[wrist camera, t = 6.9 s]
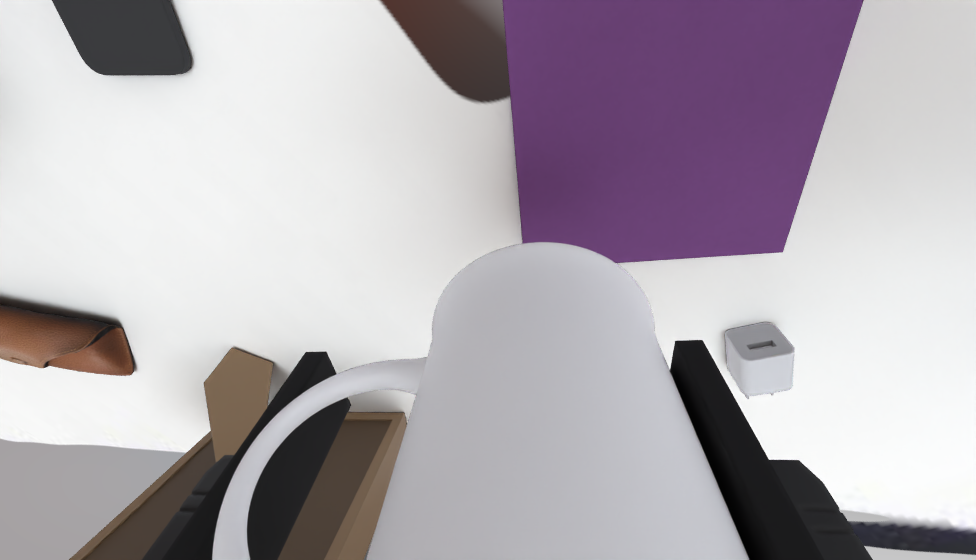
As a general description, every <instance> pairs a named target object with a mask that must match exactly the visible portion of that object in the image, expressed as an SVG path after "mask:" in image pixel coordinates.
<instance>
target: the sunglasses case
mask: <svg viewBox="0 0 976 560" xmlns="http://www.w3.org/2000/svg"><path fill="white" fill-rule="evenodd" d="M0 358H1V359H4V360H7V361H10V362H14V363H18V364H24V365H30V366H35V367H38V368H46V367H47V366H53V367H58V368H64V369H69V370H76V371H82V372H88V373H96V374H106V375H119V376H120V375H121V376H123V375H124V376H126V375H132V373H133V372H134V365H133V358H132V354H131V350H130V347H129V344H128V341H127V338H126V336H125V333H124V331H123V328H122V327H120V326H118V325H107V324H106V323H103V322H99V321H91V320H86V319H78V318H72V317H62V316H58V315H53V314H44V313H36V312H34V311H29V310H24V309H20V308H15V307H10V306H4V305H0Z"/></svg>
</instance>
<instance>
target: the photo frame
mask: <svg viewBox="0 0 976 560" xmlns="http://www.w3.org/2000/svg"><path fill="white" fill-rule="evenodd" d="M272 368H273V363H272V362H269V361H266V360H264V359H261V358H258V357H256V356H253V355H250V354H248V353H245V352H242V351H239V350H237V349H234V348H231V349H230V351H229V352H228V353H227V354H226V356H225V357H224V358H223V359H222V361H221V362H220V363H219V364H218V366H217V367H216V368H215V370H214V371H213V372H212V373H211V375H210V376H209V377H208V378H207V380H206V381H205V382H204V388H205V395H206V401H207V408H208V414H209V421H210V427H211V431H210V432H209V433H208V434H207V435H206V436H205V437H203V438H202V439H201V440H200V441H199V442H198V443H197V444H196V445H195V446H194V447H192V448H191V449H190V450H189V451H188V452H187V453H186V454H185V455H184V456H183V457H181V458H180V459H179V460H178V461H177V462H176V463H175V464H174V465H173V466H172V467H170V468H169V469H168V470H167V471H166V472H165V473H164V474H163V475H162V476H161V477H159V479H157V480H156V481H155V482H154V483H153V484H152V485H151V486H150V487H149V488H147V489H146V490H145V491H144V492H143V493H142V494H141V495H140V496H139V497H138V498H136V499H135V500H134V501H133V502H132V503H131V504H130V505H129V506H128V507H126V508H125V509H124V510H123V511H122V512H121V513H120V514H119V515H118V516H117V517H116V518H114V519H113V520H112V521H111V522H110V523H109V524H108V525H107V526H106V527H104V528H103V530H101V531H100V532H99V533H98V534H97V535H96V536H95V537H94V538H92V539H91V540H90V541H89V542H88V543H87V544H86V545H85V546H84V547H83V548H81V549H80V550H79V551H78V552H77V553H76V554H75V555H74V556H73V557H72V558H70V559H69V560H142V558H143V557H144V556H145V554H146V553H147V552H148V550H149V549H150V548H151V546H152V545H153V543H154V542H155V541H156V539H157V538H158V537H159V535H160V534H161V533H162V531H163V530H164V528H165V527H166V526H167V524H168V523H169V522H170V520H171V519H172V517H173V516H174V515H175V513H176V512H179V510H180V507H181V505H182V504H183V502H184V501H185V500H186V498H187V497H188V496H190V495H191V494H192V490H193V489H194V487H195V486H196V485H197V483H198V482H199V481H200V479H201V478H202V477H203V475H204V474H205V472H206V471H207V470H209V469H210V468H211V467H212V466H213V465H214V464H215V463H216V462H217V461H219V460H220V459H221V458H222V457H223V456H224V455H235V453H236V452H237V450H238V449H239V447H240V446H241V445H242V443H243V442H244V440H245V439H246V437H247V436H248V435H249V433H250V432H251V430H252V429H253V427H254V426H255V424H256V423H257V422H258V420H259V419H260V417H261V416H262V414H263V413H264V412H265V410H266V409H267V405H268V397H269V390H270V383H271V375H272ZM406 427H407V425H406V419H405V413H367V412H348V413H347V415H346V417H345V419H344V421H343V423H342V425H341V427H340V429H339V431H338V434H337V436H336V438H335V440H334V442H333V444H332V446H331V448H330V450H329V452H328V455H327V457H326V459H325V461H324V463H323V465H322V467H321V469H320V471H319V473H318V476H317V478H316V480H315V482H314V484H313V486H312V488H311V490H310V492H309V494H308V497H307V499H306V501H305V503H304V505H303V507H302V509H301V511H300V513H299V515H298V518H297V520H296V522H295V524H294V526H293V528H292V530H291V532H290V534H289V536H288V539H287V541H286V543H285V545H284V547H283V549H282V551H281V553H280V555H279V557H278V560H364V557H365V555H366V552H367V549H368V547H369V544H370V542H371V539H372V537H373V534H374V532H375V529H376V526H377V523H378V519H379V516H380V513H381V509H382V506H383V503H384V499H385V496H386V493H387V490H388V486H389V483H390V480H391V476H392V473H393V470H394V466H395V463H396V460H397V456H398V453H399V450H400V447H401V443H402V440H403V437H404V433H405V430H406Z"/></svg>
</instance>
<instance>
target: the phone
mask: <svg viewBox="0 0 976 560" xmlns="http://www.w3.org/2000/svg"><path fill="white" fill-rule="evenodd" d="M52 1H53V3H54V5H55V7H56V9H57V11H58V13H59V15H60V17H61V19H62V21H63V23H64V25H65V27H66V29H67V31H68V33H69V35H70V36H71V38H72V40H73V42H74V44H75V46H76V48H77V50H78V52H79V54H80V56H81V57H82V59H83V60H84V62H85V63H86V64H87V65H88V66H89V67H90V68H91V69H92V70H94V71H95V72H97V73H99V74H103V75H176V74H183V73H186V72H187V71H188V70H189V69H190V66H191V59H190V55H189V51H188V49H187V46H186V43H185V41H184V38H183V35H182V33H181V30H180V27H179V25H178V22H177V19H176V17H175V14H174V11H173V9H172V6H171V3H170V1H169V0H52Z"/></svg>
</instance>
